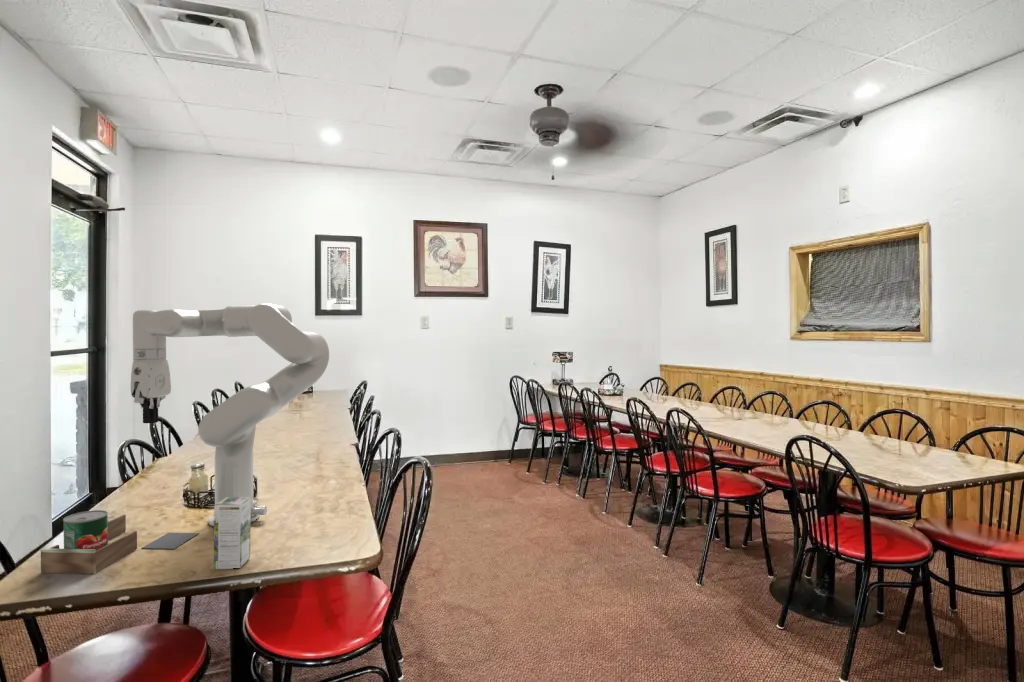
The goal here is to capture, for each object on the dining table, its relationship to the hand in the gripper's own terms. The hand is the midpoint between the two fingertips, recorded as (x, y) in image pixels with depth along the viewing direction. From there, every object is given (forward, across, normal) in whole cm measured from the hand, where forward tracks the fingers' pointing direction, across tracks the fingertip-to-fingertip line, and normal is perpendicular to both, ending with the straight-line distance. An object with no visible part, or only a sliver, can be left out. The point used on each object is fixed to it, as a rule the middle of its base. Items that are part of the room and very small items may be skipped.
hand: (150, 422), depth 150 cm
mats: (+27, -18, -7) cm, 33 cm away
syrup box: (+27, -26, -37) cm, 53 cm away
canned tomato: (+27, -28, -4) cm, 39 cm away
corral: (+27, -21, -4) cm, 35 cm away
